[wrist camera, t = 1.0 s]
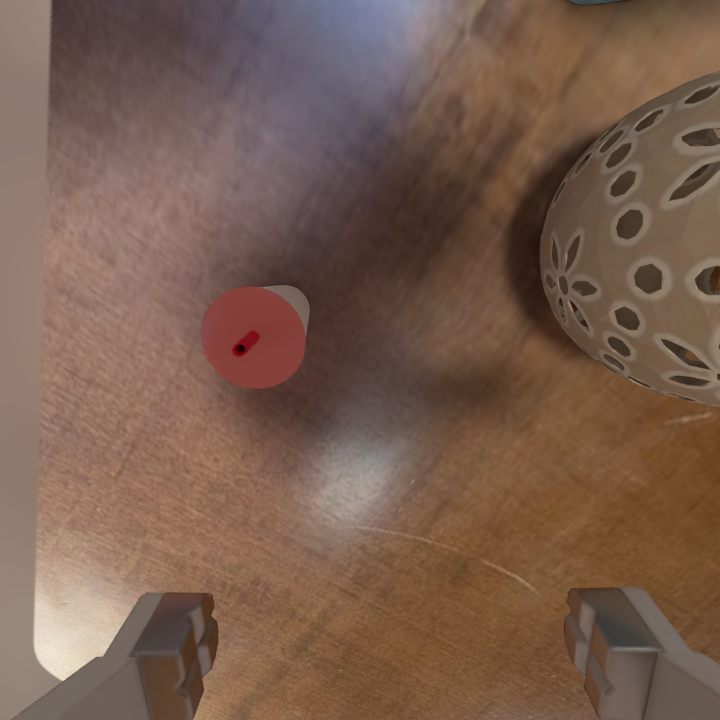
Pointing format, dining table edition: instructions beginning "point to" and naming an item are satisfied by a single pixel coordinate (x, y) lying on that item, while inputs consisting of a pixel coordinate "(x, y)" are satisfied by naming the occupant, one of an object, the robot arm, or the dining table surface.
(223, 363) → the cup
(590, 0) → the vase
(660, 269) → the ornament
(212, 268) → the dining table surface
